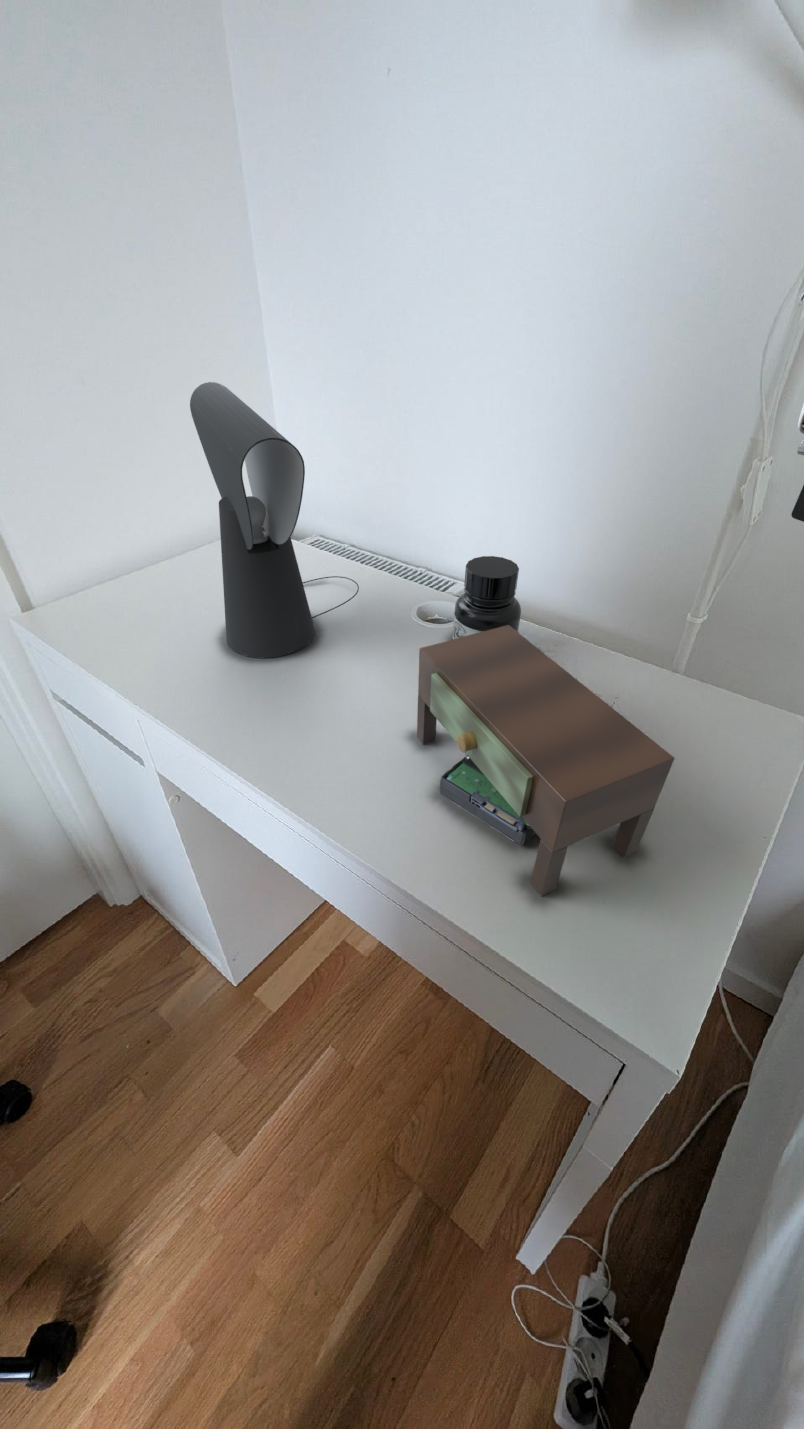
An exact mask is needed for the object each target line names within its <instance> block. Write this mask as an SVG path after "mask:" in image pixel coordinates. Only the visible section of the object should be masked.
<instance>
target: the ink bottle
mask: <svg viewBox="0 0 804 1429" xmlns="http://www.w3.org/2000/svg"><path fill="white" fill-rule="evenodd" d="M464 571H465V572H464V584H463V585H464V592H463V593H462V594H460V596H459V597H458V598H457V600H456V601H455V606H454V612H453V613H454V614H453V630H452V640H453V639H457V638H460V637H464V636H468V635H472V634H476V633H479V632H483V631H487V630H491V629H495V628H499V627H502V626H506V625H509V626H511V627H512V628H513V629H514V630H516V631H517V632H518V633H519V629H520V622H521V616H522V606H521V604H520V602H519V600H518V599H517V598H516V597H515V596H516V593H517V592H516V590H517V587H518V578H519V572H520V568H519V566H518V564H517V563H516V562H514V561H513V560H512V559H508V558H505V557H501V556H495V555H482V556H478V557H473V558H472V559H470V560H468V561H467V563H466V565H465V570H464Z"/></svg>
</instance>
